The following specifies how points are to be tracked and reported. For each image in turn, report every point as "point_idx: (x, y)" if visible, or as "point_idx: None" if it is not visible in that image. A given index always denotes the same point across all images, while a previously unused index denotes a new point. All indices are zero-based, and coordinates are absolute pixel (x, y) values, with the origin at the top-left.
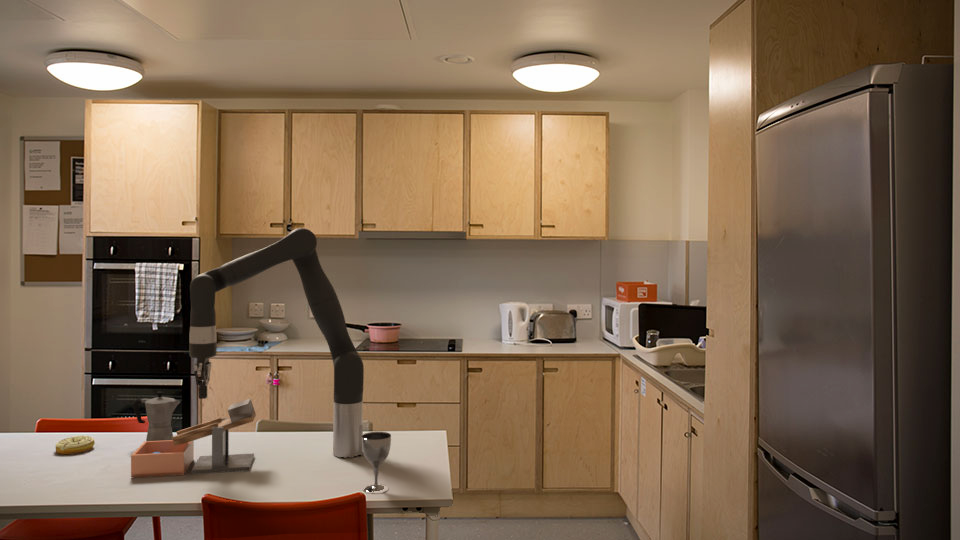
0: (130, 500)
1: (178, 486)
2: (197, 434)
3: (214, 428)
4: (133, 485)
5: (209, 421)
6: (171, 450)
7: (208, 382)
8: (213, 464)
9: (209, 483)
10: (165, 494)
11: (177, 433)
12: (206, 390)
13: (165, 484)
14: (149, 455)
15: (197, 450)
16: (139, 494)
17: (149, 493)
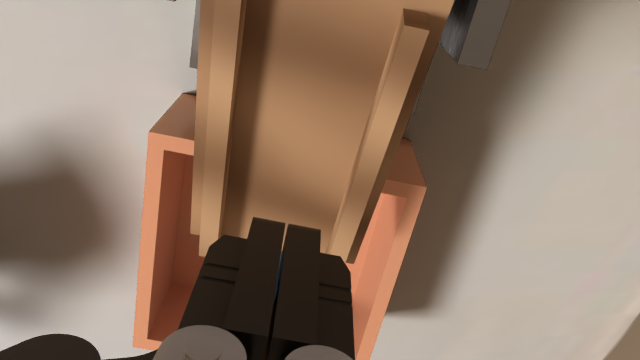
0: (614, 308)
1: (556, 161)
2: (395, 152)
3: (492, 49)
4: (449, 305)
5: (229, 78)
6: (171, 213)
7: (196, 353)
8: None
9: (596, 31)
10: (627, 206)
11: None
12: (317, 293)
13: (500, 207)
14: (381, 323)
15: (14, 69)
16: (567, 286)
17: (577, 257)
